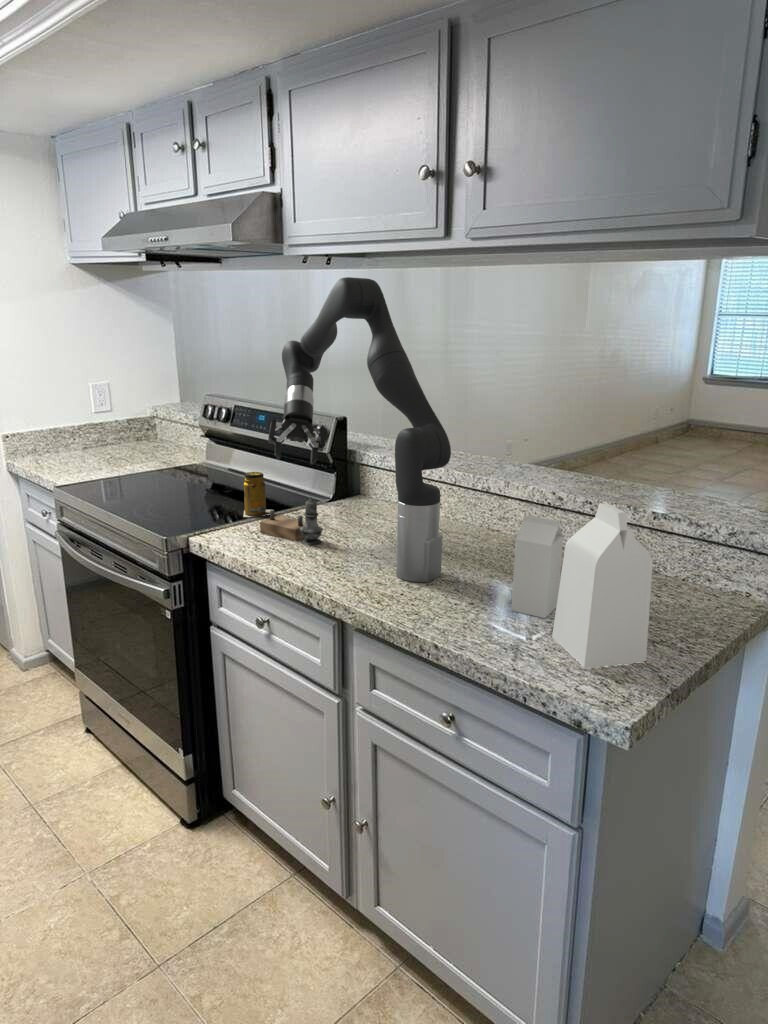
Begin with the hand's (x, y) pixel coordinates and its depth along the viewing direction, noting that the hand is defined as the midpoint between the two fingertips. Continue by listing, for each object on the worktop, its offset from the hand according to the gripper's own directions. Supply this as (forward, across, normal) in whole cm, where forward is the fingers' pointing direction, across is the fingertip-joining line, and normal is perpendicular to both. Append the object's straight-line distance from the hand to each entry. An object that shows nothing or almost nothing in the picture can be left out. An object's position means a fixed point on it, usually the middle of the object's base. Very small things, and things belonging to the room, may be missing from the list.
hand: (295, 460), depth 179 cm
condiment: (-1, -5, +34) cm, 35 cm away
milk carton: (+46, +45, -31) cm, 71 cm away
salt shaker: (+17, +7, +11) cm, 21 cm away
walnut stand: (+12, +1, +18) cm, 22 cm away
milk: (+58, +48, -46) cm, 88 cm away
